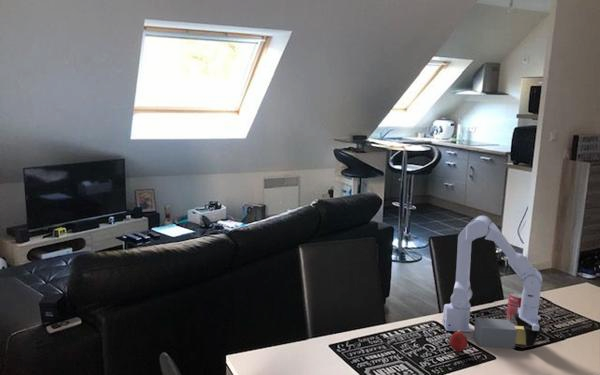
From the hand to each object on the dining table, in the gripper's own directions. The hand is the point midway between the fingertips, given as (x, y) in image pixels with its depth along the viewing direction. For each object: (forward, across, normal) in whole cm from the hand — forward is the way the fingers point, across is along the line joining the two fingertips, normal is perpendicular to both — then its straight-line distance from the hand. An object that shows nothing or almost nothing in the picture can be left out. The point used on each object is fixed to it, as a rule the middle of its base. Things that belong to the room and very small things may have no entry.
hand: (525, 340), depth 172 cm
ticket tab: (+1, 0, +6) cm, 6 cm away
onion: (+2, -9, +26) cm, 28 cm away
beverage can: (+2, +16, -2) cm, 16 cm away
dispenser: (+1, 0, +11) cm, 11 cm away
